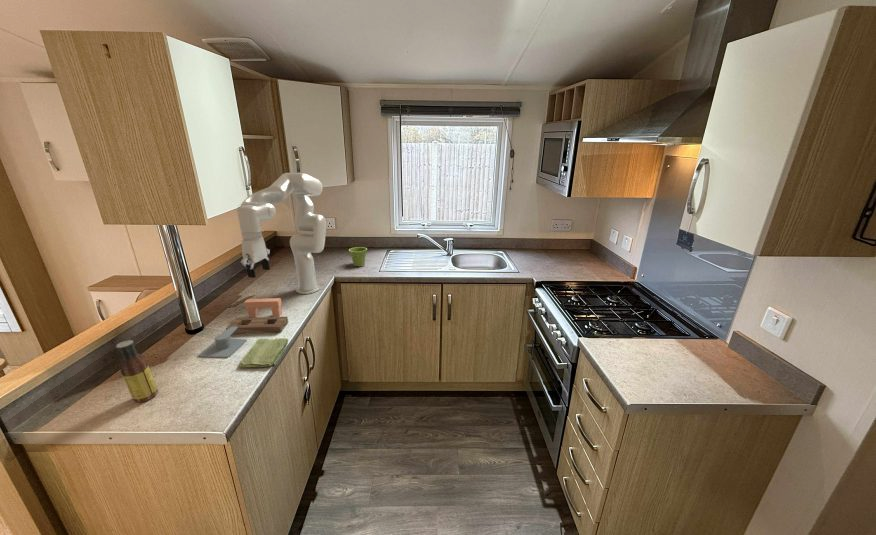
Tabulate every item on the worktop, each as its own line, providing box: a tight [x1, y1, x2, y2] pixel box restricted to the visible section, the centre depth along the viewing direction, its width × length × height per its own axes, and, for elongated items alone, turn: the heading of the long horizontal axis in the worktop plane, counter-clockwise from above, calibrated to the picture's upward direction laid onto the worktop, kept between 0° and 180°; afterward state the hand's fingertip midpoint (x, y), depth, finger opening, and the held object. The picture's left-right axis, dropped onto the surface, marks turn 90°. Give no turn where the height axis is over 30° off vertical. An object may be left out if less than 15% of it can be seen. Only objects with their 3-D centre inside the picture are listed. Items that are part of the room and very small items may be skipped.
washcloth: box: [237, 337, 289, 369], centre depth 127 cm, size 13×18×3 cm
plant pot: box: [348, 246, 368, 267], centre depth 224 cm, size 12×12×11 cm
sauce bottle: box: [115, 339, 159, 403], centre depth 103 cm, size 7×6×20 cm
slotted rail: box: [225, 316, 289, 335], centre depth 146 cm, size 9×22×3 cm, turn 94°
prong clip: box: [243, 297, 283, 318], centre depth 156 cm, size 4×15×8 cm, turn 94°
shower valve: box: [197, 326, 248, 359], centre depth 132 cm, size 12×6×15 cm
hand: (259, 273), depth 146 cm, fingers open, 9 cm apart
